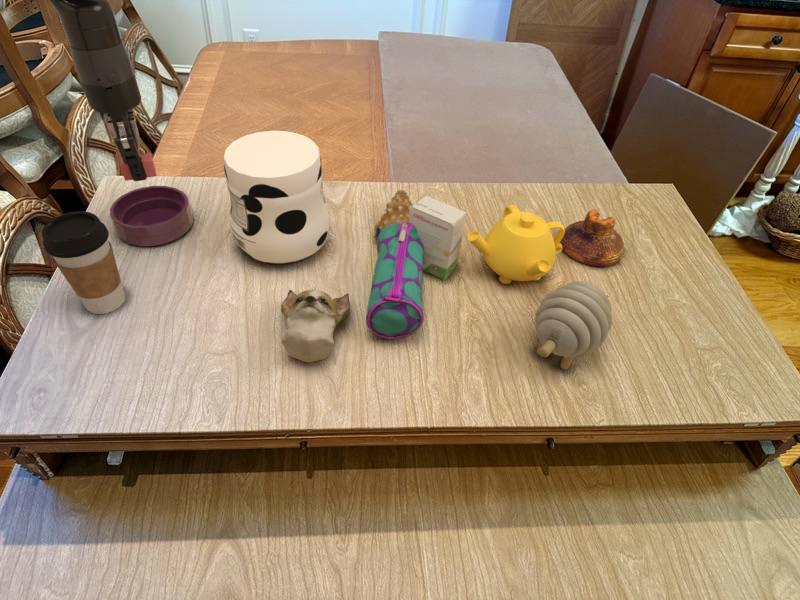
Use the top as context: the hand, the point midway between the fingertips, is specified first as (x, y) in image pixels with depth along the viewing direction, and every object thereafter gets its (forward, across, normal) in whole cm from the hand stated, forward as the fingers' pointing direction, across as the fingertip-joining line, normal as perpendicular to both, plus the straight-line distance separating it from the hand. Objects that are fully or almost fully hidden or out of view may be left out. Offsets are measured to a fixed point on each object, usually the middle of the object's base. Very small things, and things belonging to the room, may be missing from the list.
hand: (139, 174), depth 92 cm
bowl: (+11, 0, 0) cm, 11 cm away
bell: (+11, +32, +75) cm, 82 cm away
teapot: (+11, +33, +57) cm, 67 cm away
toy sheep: (+11, +51, +55) cm, 76 cm away
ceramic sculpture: (+11, +36, +20) cm, 43 cm away
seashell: (+11, +15, +42) cm, 46 cm away
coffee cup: (+11, +18, -9) cm, 23 cm away
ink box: (+11, +27, +44) cm, 53 cm away
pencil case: (+11, +32, +35) cm, 49 cm away
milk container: (+11, +12, +21) cm, 27 cm away
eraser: (0, 0, 0) cm, 0 cm away
